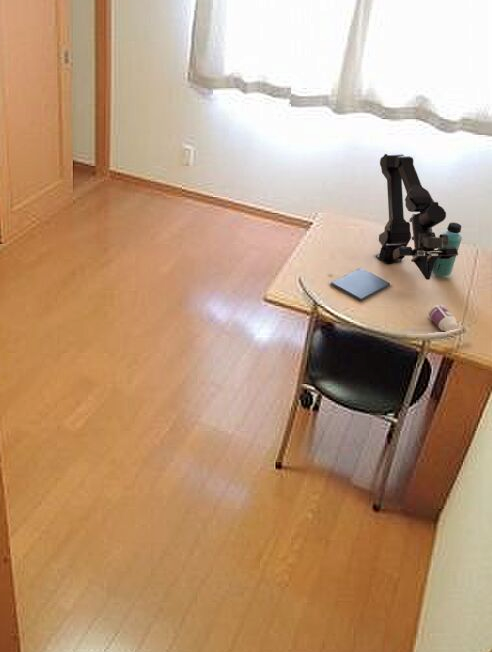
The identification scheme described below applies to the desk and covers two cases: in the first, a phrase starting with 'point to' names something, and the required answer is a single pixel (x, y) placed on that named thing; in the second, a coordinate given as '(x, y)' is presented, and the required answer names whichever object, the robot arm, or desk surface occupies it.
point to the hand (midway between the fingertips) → (428, 279)
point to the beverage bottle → (446, 265)
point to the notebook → (360, 284)
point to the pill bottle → (443, 318)
